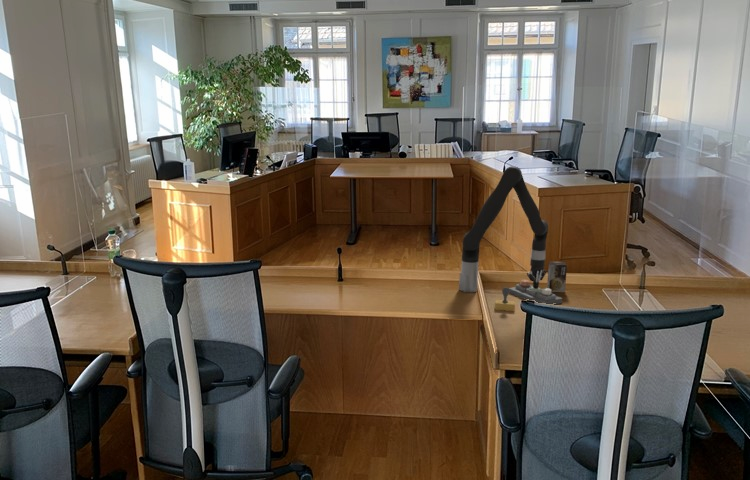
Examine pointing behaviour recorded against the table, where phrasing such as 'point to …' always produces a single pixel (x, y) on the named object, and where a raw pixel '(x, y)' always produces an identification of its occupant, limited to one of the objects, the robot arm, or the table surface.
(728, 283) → the table surface
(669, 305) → the table surface
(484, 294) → the table surface
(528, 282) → the terracotta button
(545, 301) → the console
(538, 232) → the robot arm
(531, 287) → the sage button
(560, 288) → the coffee box
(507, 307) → the rubber stamp
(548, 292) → the cream button
